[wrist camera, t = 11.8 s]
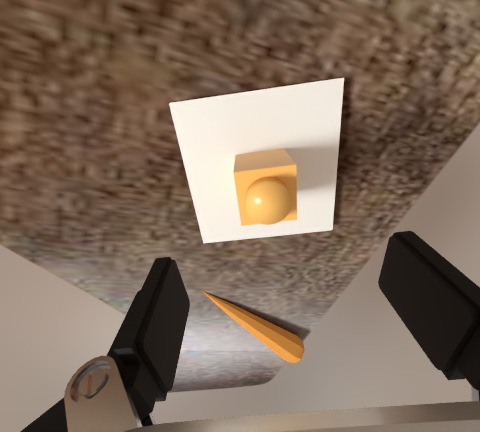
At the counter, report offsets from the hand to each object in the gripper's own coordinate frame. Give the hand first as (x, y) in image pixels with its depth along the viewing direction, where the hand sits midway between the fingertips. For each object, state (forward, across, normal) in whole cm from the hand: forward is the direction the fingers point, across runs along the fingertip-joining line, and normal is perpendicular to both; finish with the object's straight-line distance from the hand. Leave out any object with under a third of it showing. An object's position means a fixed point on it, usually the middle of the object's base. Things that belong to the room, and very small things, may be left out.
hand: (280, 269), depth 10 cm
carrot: (+17, +3, +26) cm, 31 cm away
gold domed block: (+16, 0, +1) cm, 16 cm away
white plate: (+17, 0, +1) cm, 17 cm away
